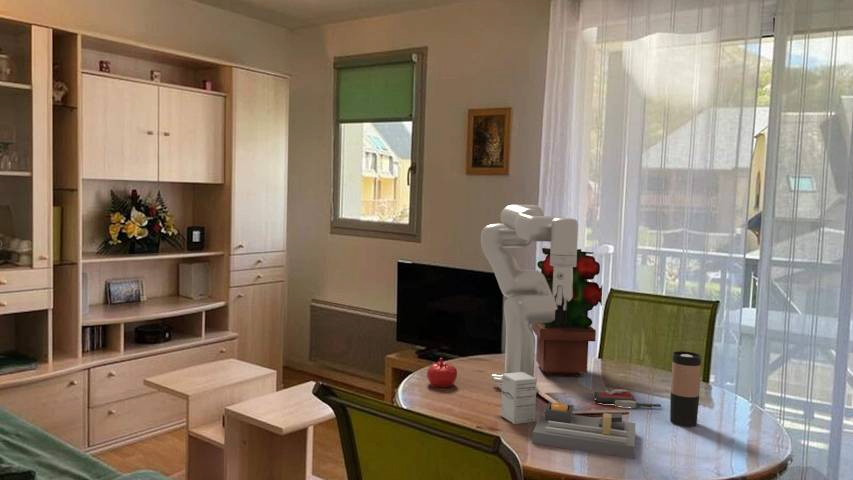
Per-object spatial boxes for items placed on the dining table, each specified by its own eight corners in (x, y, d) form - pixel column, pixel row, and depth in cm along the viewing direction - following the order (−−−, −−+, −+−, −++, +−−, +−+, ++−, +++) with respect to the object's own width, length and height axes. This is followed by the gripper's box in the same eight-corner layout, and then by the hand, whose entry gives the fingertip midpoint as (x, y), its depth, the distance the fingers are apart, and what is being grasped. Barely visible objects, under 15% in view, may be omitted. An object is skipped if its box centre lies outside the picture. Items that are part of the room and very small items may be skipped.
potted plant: (598, 380, 226) (604, 253, 223) (535, 378, 227) (540, 251, 224) (583, 364, 248) (588, 248, 245) (526, 362, 249) (530, 246, 246)
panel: (532, 443, 166) (533, 420, 165) (542, 421, 183) (543, 400, 183) (633, 458, 158) (635, 434, 158) (635, 433, 175) (636, 412, 175)
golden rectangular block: (602, 436, 163) (602, 416, 163) (602, 431, 166) (603, 412, 166) (610, 437, 162) (611, 417, 162) (610, 433, 165) (611, 414, 165)
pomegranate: (456, 390, 211) (458, 362, 210) (426, 389, 211) (427, 361, 210) (456, 381, 220) (457, 354, 220) (427, 380, 221) (428, 353, 220)
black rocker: (602, 422, 171) (601, 418, 171) (603, 418, 175) (602, 414, 175) (621, 422, 170) (621, 417, 170) (622, 417, 173) (621, 413, 173)
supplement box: (499, 416, 186) (501, 373, 185) (521, 413, 189) (523, 371, 188) (513, 424, 179) (514, 380, 179) (535, 421, 182) (537, 377, 181)
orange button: (549, 417, 175) (550, 406, 175) (552, 412, 180) (552, 401, 179) (566, 419, 174) (566, 408, 174) (568, 414, 178) (568, 403, 178)
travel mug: (664, 418, 188) (667, 350, 187) (689, 418, 189) (693, 351, 188) (676, 427, 181) (680, 357, 180) (702, 427, 181) (706, 357, 180)
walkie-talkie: (595, 408, 197) (662, 411, 196) (596, 394, 197) (662, 397, 196) (589, 399, 206) (653, 402, 205) (590, 386, 205) (653, 388, 205)
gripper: (573, 263, 177) (570, 329, 179) (578, 259, 192) (576, 320, 193) (546, 262, 180) (543, 327, 181) (553, 258, 194) (551, 318, 195)
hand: (560, 323), depth 187 cm, fingers closed
